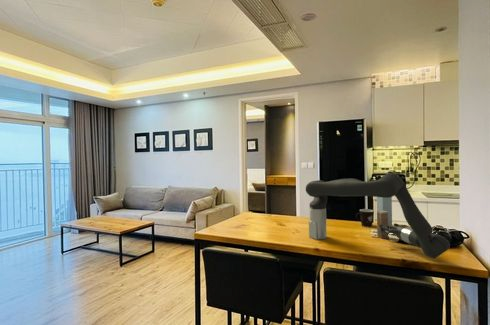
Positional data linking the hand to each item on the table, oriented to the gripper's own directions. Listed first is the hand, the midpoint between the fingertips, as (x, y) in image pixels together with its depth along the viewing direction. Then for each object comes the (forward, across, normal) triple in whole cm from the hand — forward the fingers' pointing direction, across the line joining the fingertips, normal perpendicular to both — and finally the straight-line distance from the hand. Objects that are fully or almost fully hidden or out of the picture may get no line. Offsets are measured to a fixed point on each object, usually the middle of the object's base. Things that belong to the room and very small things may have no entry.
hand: (387, 225), depth 147 cm
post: (+18, -10, +8) cm, 22 cm away
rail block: (+4, 0, +8) cm, 9 cm away
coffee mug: (+29, -3, +8) cm, 30 cm away
